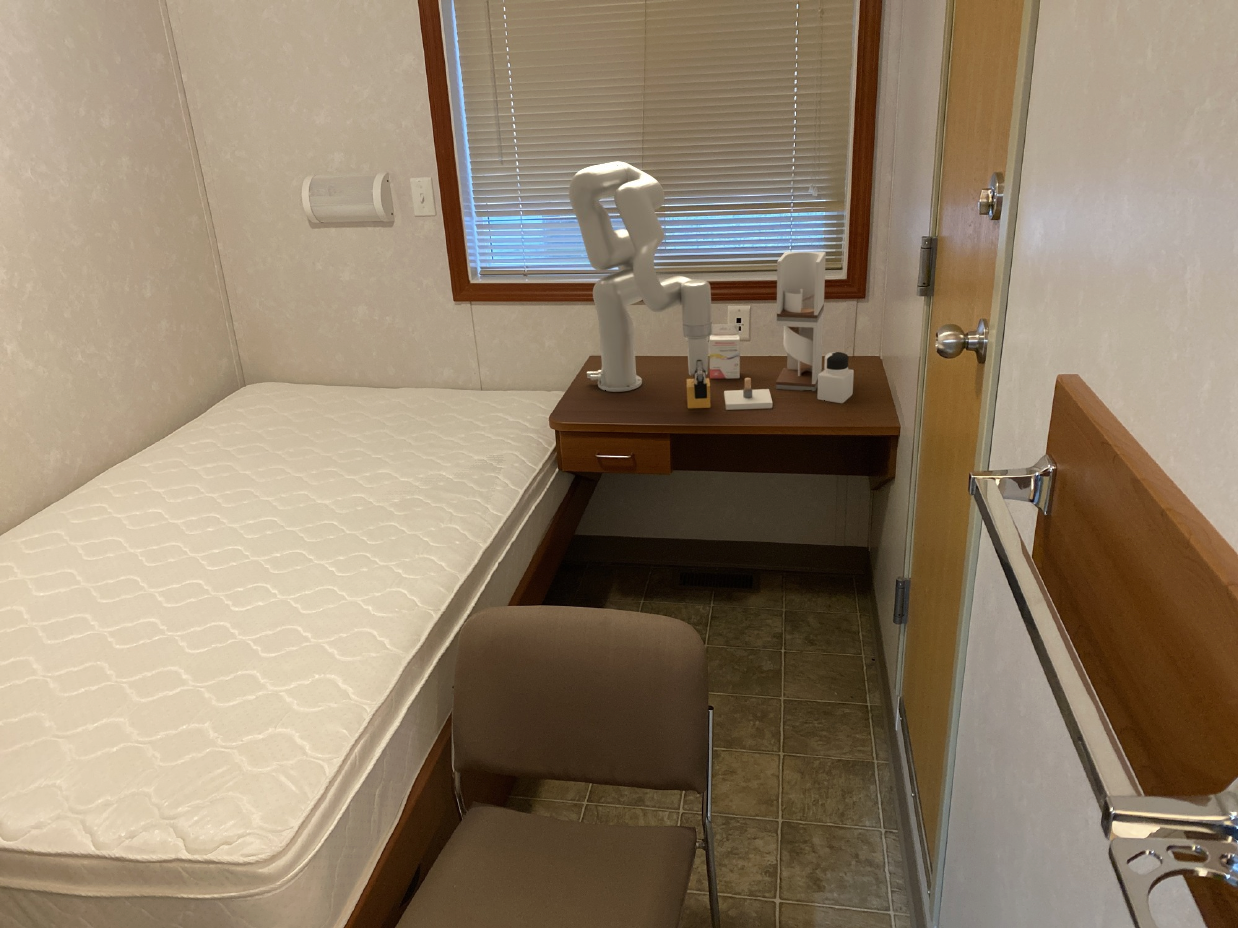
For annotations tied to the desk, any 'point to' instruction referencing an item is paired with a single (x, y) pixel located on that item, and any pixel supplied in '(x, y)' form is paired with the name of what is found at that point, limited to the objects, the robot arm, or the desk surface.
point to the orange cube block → (691, 395)
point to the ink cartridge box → (725, 351)
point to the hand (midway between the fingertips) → (700, 391)
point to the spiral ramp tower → (801, 317)
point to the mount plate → (747, 398)
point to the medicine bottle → (835, 379)
